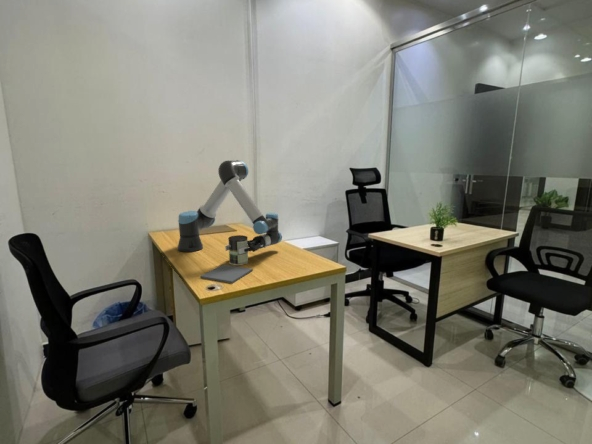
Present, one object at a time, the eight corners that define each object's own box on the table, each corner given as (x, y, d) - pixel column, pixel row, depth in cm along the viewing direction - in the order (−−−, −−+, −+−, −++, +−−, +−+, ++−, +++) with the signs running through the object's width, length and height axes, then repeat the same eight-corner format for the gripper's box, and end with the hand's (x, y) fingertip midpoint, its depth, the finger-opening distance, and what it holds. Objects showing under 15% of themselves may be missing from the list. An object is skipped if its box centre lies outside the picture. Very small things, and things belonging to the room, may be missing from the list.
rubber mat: (200, 277, 149) (200, 275, 148) (223, 266, 165) (222, 264, 165) (232, 283, 142) (232, 281, 142) (252, 270, 158) (252, 269, 158)
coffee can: (228, 265, 166) (227, 239, 163) (230, 259, 176) (229, 235, 173) (247, 265, 167) (246, 239, 164) (248, 259, 177) (248, 235, 174)
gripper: (275, 251, 178) (247, 260, 161) (248, 244, 191) (219, 253, 174) (275, 238, 176) (246, 246, 159) (247, 232, 190) (218, 239, 173)
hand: (232, 249), depth 167 cm, fingers closed on coffee can, 10 cm apart
